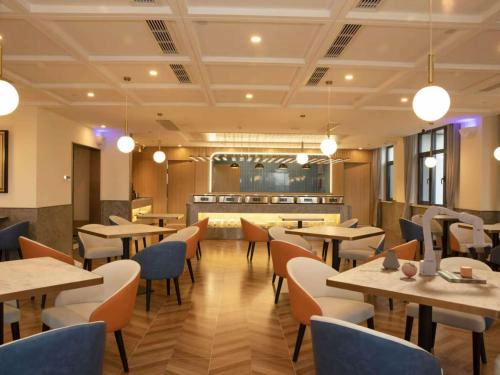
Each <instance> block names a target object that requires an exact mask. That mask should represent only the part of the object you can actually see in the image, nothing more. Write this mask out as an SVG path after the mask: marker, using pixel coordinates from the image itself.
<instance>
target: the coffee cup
mask: <svg viewBox="0 0 500 375" xmlns="http://www.w3.org/2000/svg"><path fill="white" fill-rule="evenodd" d="M432 246H433V251H434V252H435V260H436V270H439V269H440V268H441V262H442V256H443V255H442V253H443V248H442V246H439V245H432Z"/></svg>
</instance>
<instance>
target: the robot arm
mask: <svg viewBox="0 0 500 375" xmlns="http://www.w3.org/2000/svg"><path fill="white" fill-rule="evenodd" d="M439 215H448V216H451V217H454V218H457V219H458V220H459V222H463V223H465V224H468V225H472V233H473V243H469V244H468V243H467V244H466V248H467V250H468V251H469V253H470V255H471V257H472V260H474V261H475V260H476V258H477V255H476V253H477V249H476V248H483V251H484V258H485V259H487V260H488V259H489V257H490V254H491V251H492V249H493V242H492V243H491V242H485V233H484V232H485V231H484V224H485V222H484V220H483V219H482V218H481V217H479V216H476V214H470V213H468V212H466V211H465V212H464V211H463V212H457V211H454V210H452V209H449V208H446V207H442V206H436V205H431V206H429V207H428V208H427V209H426V211H425V212H424V213H423V215H422V217H421V223H422V225H421V226H422V233H423V239H424V240H423V242H424V248H425V250H424V258H423V260H419V266H418V267H419V268H418V271H419V272H418V273H419V274H420V275H421V276H432V277H437V276H438V275H439V274H438V273H437V271H436V270H437V269H436V260H435V252H434V251H433V246H434V245H433V238H432V232H431V223H430V222H431V220H432V219H433V218H434V217H436V216H439Z"/></svg>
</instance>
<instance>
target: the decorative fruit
mask: <svg viewBox="0 0 500 375" xmlns="http://www.w3.org/2000/svg"><path fill="white" fill-rule="evenodd" d="M400 269H401V273H402V274H403V275H405V277H407V278H413V277H415V276H416V275H417V273H418V267H417V265H416V264H415V263H411V262H410V261H409V262H404V263H403V264H402V266H401V267H400Z"/></svg>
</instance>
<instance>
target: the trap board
mask: <svg viewBox="0 0 500 375" xmlns="http://www.w3.org/2000/svg"><path fill="white" fill-rule="evenodd" d="M437 275H439V276H441V278H443V279H445V280H447V281H448V282H449V283H467V284H483V285H484V284H485V285H486V284H487V279H485V278H483V277H481V276H479V275H477V274H475V273H473V272H472V277H470V276H462V275H460V271H450V270H449V271H448V270H447V271H445V270H437Z"/></svg>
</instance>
